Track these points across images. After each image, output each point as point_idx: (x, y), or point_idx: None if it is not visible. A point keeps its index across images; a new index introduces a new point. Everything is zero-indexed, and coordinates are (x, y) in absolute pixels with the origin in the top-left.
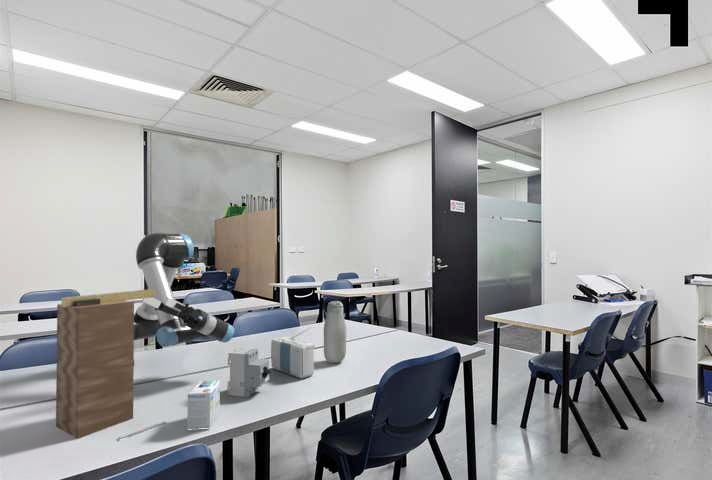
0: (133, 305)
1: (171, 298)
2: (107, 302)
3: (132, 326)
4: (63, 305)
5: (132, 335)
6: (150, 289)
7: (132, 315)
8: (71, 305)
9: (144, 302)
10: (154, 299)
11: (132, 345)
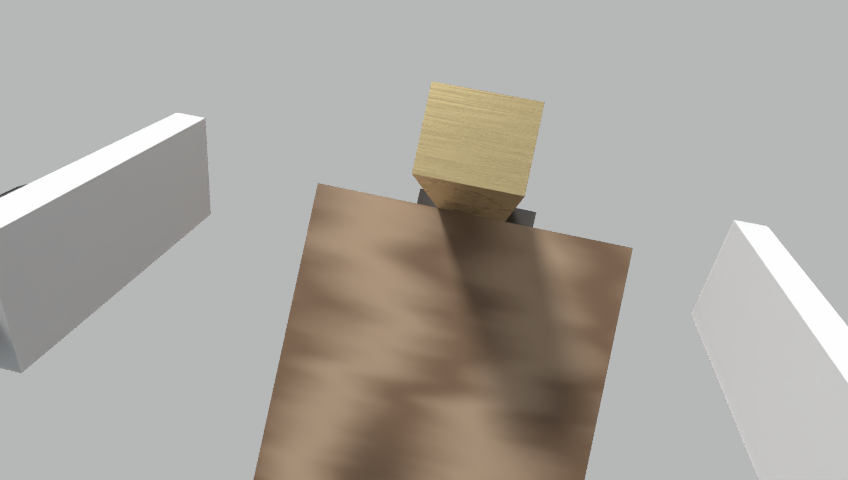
0: (313, 208)
1: (155, 125)
2: None
3: (285, 347)
4: None
5: (271, 407)
6: (511, 101)
7: (300, 274)
8: None
9: (702, 335)
10: (786, 325)
11: (257, 475)
